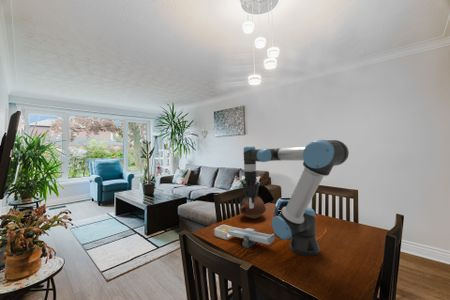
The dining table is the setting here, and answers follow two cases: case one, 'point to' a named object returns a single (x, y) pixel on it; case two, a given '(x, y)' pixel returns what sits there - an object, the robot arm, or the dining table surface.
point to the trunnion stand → (248, 242)
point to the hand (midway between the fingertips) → (251, 207)
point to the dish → (223, 234)
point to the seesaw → (253, 235)
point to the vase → (254, 212)
